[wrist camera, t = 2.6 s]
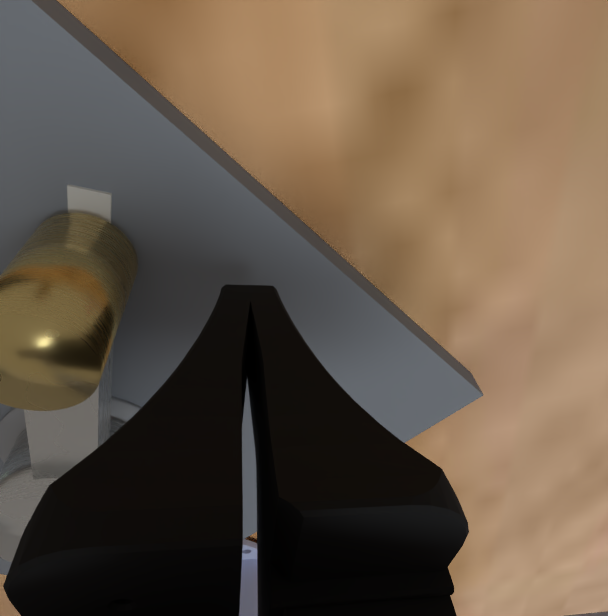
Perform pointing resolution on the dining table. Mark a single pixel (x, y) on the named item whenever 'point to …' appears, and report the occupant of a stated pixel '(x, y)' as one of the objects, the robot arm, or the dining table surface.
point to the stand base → (188, 235)
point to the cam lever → (58, 354)
